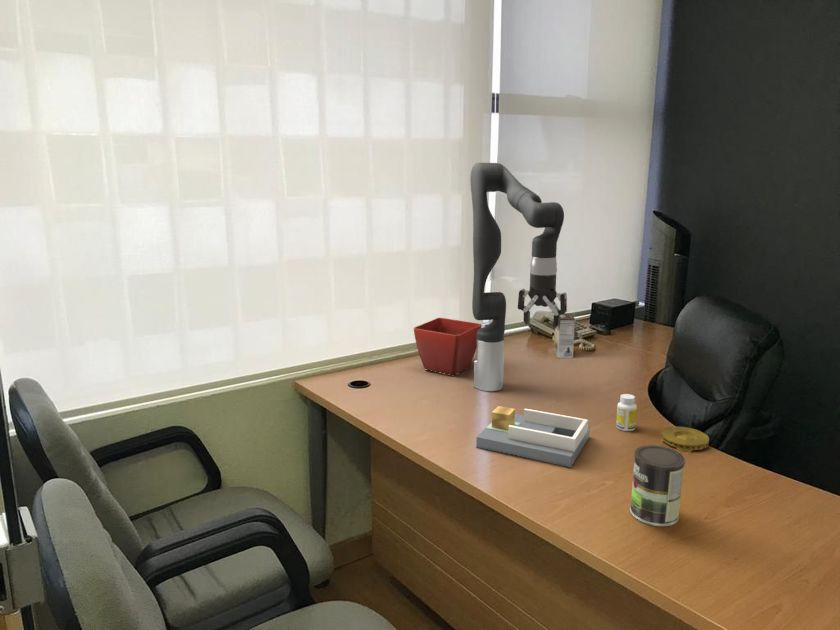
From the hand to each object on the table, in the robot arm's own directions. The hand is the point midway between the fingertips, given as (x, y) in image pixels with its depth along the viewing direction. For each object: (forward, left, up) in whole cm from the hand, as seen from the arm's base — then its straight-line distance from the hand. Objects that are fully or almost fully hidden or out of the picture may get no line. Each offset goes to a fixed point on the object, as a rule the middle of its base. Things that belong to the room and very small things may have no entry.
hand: (541, 325), depth 187 cm
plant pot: (-43, +26, -28) cm, 58 cm away
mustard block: (-4, -20, -25) cm, 32 cm away
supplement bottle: (+26, +1, -28) cm, 38 cm away
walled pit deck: (+5, -20, -28) cm, 35 cm away
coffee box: (-9, +62, -28) cm, 69 cm away
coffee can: (+40, -43, -28) cm, 65 cm away
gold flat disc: (+42, -1, -29) cm, 51 cm away
